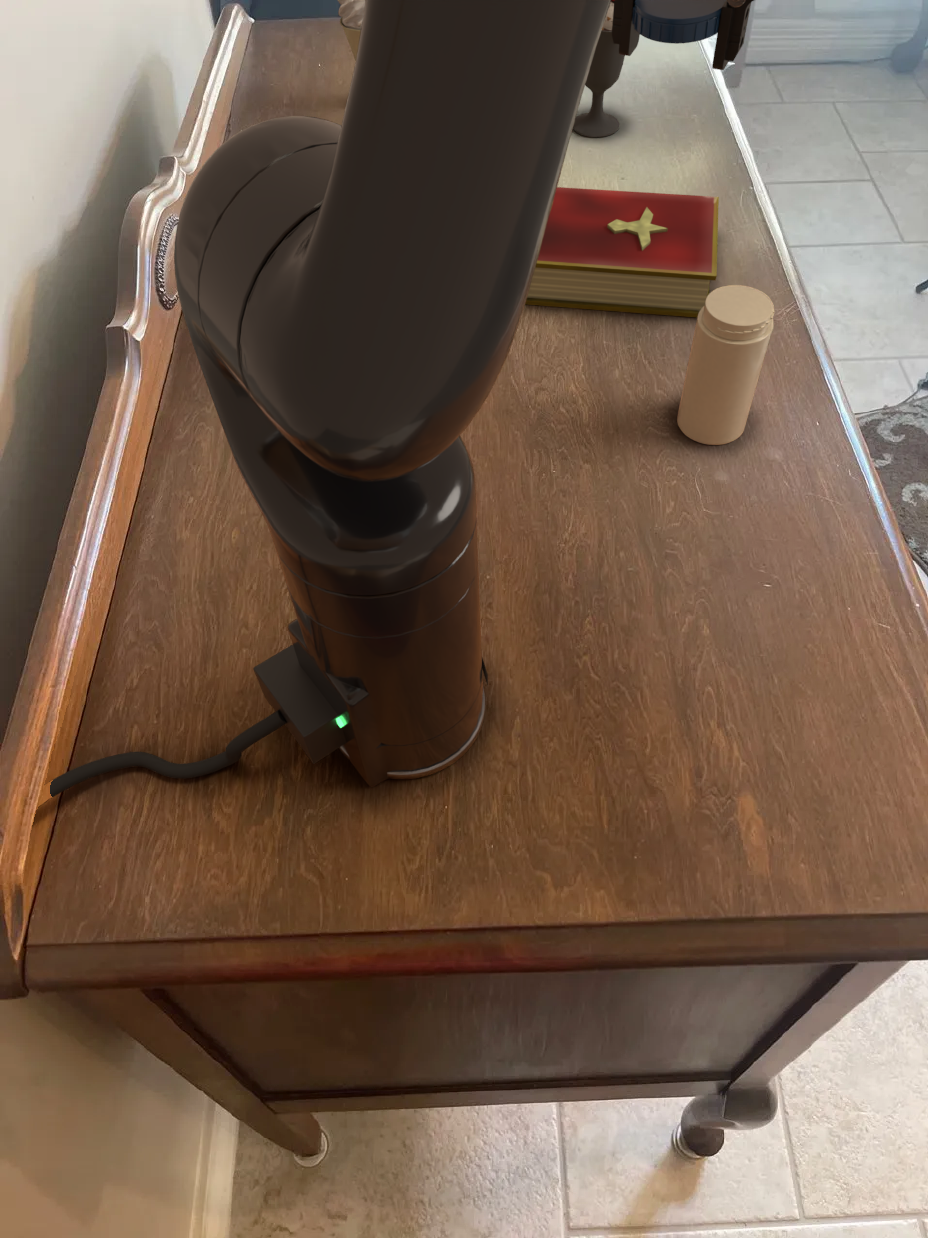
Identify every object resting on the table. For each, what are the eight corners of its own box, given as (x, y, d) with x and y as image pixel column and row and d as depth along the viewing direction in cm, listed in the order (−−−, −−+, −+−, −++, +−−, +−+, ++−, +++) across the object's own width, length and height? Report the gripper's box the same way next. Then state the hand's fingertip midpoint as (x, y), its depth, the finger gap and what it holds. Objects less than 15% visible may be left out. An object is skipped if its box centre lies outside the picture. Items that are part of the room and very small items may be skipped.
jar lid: (737, 6, 59) (741, -19, 58) (710, 49, 56) (713, 24, 55) (649, -4, 61) (651, -28, 59) (619, 37, 58) (620, 13, 57)
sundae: (625, 143, 92) (644, -29, 80) (559, 139, 93) (567, -32, 81) (631, 111, 96) (650, -58, 84) (568, 107, 97) (577, -60, 85)
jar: (711, 455, 67) (741, 338, 58) (662, 418, 69) (684, 301, 61) (759, 424, 68) (794, 307, 60) (709, 390, 71) (737, 272, 62)
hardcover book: (480, 220, 85) (479, 176, 82) (710, 235, 83) (719, 190, 79) (457, 298, 79) (455, 254, 75) (707, 318, 76) (717, 272, 72)
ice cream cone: (340, 106, 99) (317, -59, 87) (369, 87, 101) (351, -76, 89) (377, 118, 97) (359, -49, 85) (406, 98, 99) (392, -67, 87)
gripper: (881, -314, 46) (797, 48, 60) (610, -325, 50) (589, 17, 64) (851, -276, 43) (769, 102, 56) (560, -290, 46) (550, 66, 60)
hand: (673, 55), depth 60 cm, fingers closed on jar lid, 5 cm apart
